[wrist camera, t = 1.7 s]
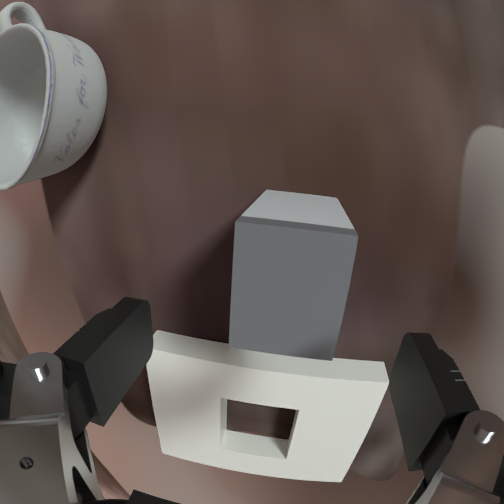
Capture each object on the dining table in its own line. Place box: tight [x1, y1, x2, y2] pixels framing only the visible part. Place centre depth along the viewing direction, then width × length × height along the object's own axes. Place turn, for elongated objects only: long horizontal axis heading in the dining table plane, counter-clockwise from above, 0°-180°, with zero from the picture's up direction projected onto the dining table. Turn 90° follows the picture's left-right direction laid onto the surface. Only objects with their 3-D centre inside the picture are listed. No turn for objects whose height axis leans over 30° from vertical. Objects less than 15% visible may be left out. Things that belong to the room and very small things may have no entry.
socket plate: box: [146, 330, 389, 482], centre depth 25 cm, size 18×14×2 cm
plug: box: [229, 190, 358, 361], centre depth 16 cm, size 4×5×9 cm
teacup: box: [0, 2, 107, 191], centre depth 16 cm, size 14×11×8 cm
